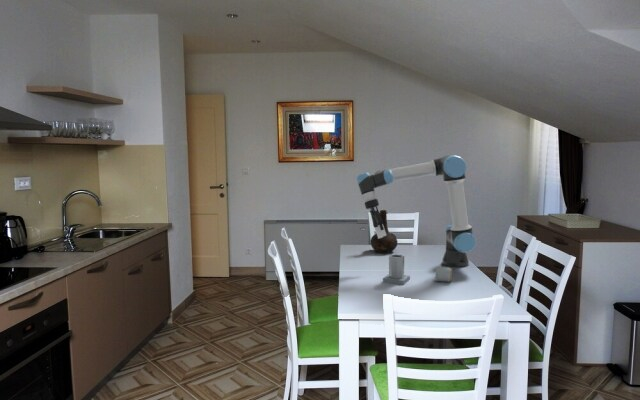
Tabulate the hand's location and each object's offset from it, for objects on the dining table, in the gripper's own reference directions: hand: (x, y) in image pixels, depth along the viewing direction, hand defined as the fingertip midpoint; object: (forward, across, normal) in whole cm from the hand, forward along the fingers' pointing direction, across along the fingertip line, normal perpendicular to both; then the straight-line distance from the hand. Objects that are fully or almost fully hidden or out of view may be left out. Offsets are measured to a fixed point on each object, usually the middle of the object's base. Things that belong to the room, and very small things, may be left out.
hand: (382, 237), depth 249 cm
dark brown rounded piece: (+8, -58, +7) cm, 59 cm away
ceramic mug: (+31, +10, +22) cm, 39 cm away
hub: (+22, +10, -1) cm, 24 cm away
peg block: (+24, +10, -1) cm, 26 cm away
